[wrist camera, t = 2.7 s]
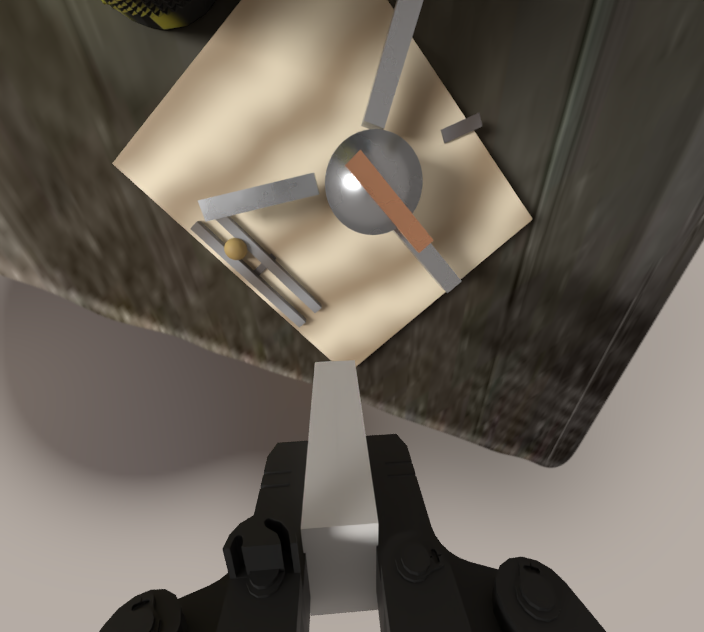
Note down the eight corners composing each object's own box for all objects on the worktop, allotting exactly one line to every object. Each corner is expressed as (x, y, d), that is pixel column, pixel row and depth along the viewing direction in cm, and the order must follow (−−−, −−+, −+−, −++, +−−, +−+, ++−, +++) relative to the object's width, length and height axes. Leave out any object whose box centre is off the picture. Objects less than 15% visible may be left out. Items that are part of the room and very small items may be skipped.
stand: (127, 164, 27) (96, 161, 23) (330, -89, 22) (331, -141, 18) (345, 364, 35) (347, 384, 31) (528, 210, 30) (554, 213, 27)
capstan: (212, 204, 26) (170, 211, 19) (402, -6, 22) (435, -92, 15) (356, 342, 32) (363, 386, 25) (530, 193, 27) (598, 196, 21)
